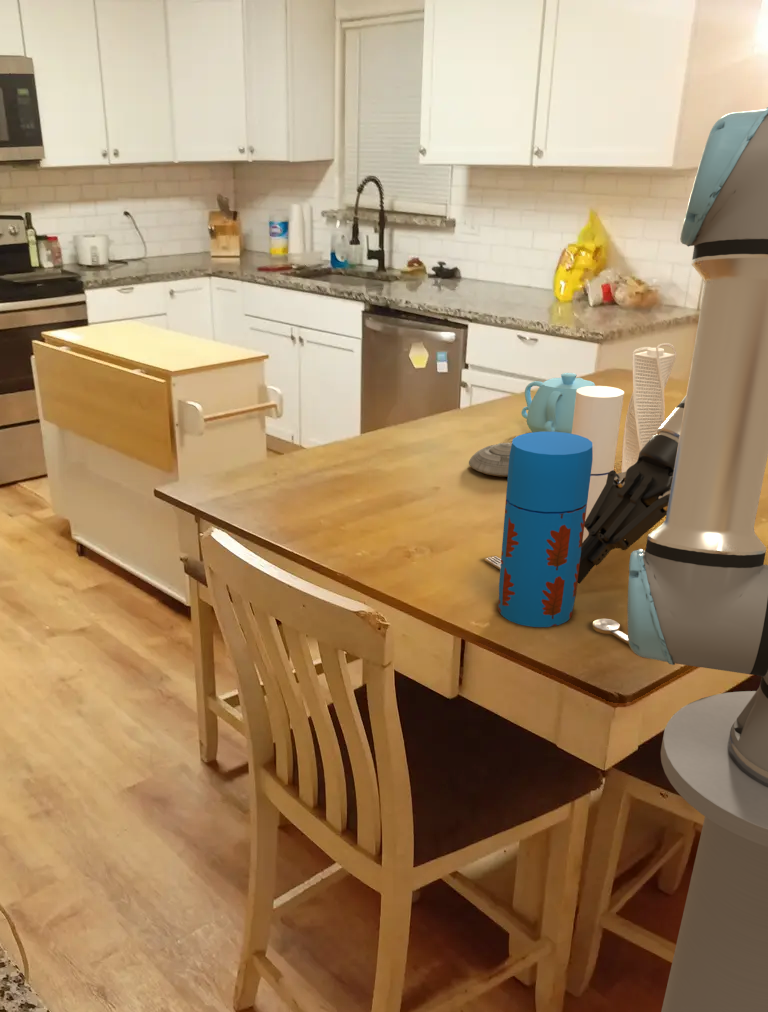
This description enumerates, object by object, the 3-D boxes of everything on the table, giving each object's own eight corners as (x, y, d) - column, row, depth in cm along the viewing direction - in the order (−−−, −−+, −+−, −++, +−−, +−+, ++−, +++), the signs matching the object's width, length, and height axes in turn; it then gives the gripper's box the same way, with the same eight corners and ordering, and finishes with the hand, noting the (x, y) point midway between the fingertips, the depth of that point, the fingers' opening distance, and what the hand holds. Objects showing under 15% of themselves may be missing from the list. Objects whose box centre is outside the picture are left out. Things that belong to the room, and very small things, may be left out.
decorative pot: (536, 448, 205) (542, 384, 198) (516, 426, 219) (521, 367, 212) (610, 444, 205) (619, 381, 199) (586, 423, 219) (593, 363, 213)
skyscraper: (662, 500, 175) (687, 344, 161) (616, 499, 176) (637, 344, 163) (656, 485, 182) (679, 335, 168) (611, 484, 183) (631, 334, 170)
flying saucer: (524, 487, 183) (526, 459, 181) (455, 474, 192) (456, 447, 189) (555, 465, 194) (558, 439, 191) (489, 454, 202) (490, 429, 199)
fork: (534, 580, 147) (534, 577, 146) (522, 583, 146) (522, 580, 146) (495, 557, 155) (495, 555, 154) (484, 560, 154) (484, 557, 154)
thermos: (579, 601, 140) (600, 435, 128) (566, 633, 132) (587, 458, 120) (506, 589, 144) (520, 428, 132) (488, 620, 136) (501, 450, 124)
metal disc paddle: (658, 650, 126) (659, 646, 126) (638, 656, 125) (638, 652, 125) (606, 620, 135) (607, 616, 134) (586, 625, 133) (587, 621, 133)
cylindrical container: (596, 551, 156) (617, 399, 144) (554, 543, 159) (570, 394, 147) (609, 536, 161) (629, 388, 149) (567, 529, 164) (584, 384, 152)
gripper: (722, 475, 133) (614, 607, 136) (654, 450, 144) (555, 573, 146) (700, 445, 129) (589, 581, 131) (632, 421, 140) (530, 548, 142)
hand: (571, 577), depth 139 cm, fingers closed
